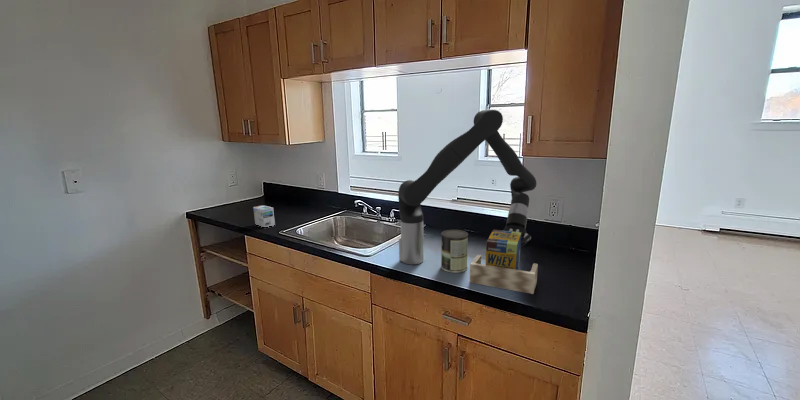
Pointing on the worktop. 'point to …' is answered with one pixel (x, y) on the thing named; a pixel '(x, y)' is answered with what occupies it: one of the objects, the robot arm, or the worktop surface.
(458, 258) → the coffee can
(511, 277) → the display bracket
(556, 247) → the worktop surface
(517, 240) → the protein box
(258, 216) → the light bulb box
